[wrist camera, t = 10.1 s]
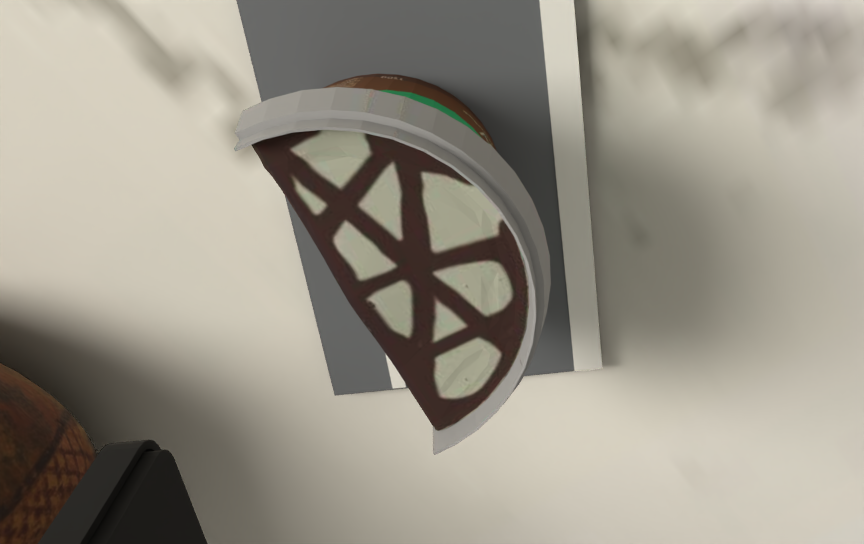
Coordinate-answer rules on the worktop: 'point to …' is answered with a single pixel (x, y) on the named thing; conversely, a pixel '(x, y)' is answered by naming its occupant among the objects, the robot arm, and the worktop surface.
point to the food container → (416, 234)
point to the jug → (36, 458)
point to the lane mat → (494, 106)
